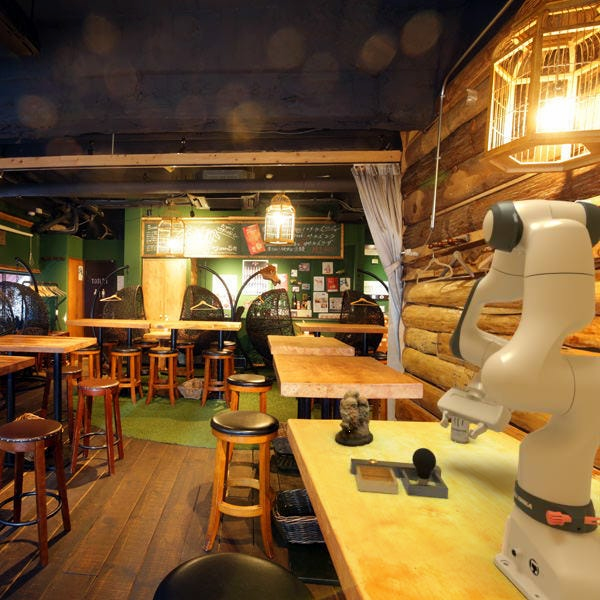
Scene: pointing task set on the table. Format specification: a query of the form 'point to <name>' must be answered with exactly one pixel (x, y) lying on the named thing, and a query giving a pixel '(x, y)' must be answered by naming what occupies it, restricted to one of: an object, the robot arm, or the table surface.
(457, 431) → the energy drink can
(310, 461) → the table surface
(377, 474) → the rail
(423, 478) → the light bulb
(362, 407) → the carved stone statue
